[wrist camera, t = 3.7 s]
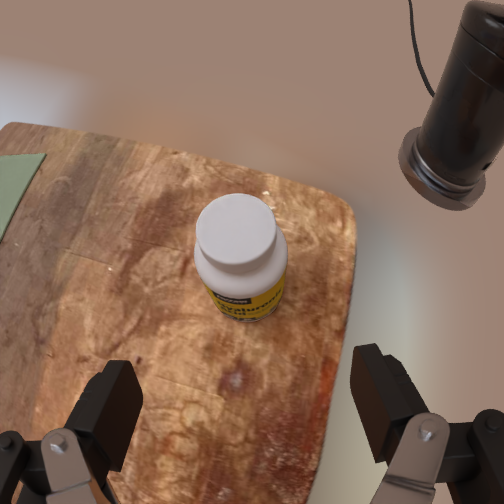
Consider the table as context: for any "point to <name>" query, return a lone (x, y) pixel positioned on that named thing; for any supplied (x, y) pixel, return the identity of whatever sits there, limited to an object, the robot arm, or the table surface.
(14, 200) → the mat
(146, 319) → the table surface
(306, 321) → the table surface
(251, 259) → the supplement bottle
